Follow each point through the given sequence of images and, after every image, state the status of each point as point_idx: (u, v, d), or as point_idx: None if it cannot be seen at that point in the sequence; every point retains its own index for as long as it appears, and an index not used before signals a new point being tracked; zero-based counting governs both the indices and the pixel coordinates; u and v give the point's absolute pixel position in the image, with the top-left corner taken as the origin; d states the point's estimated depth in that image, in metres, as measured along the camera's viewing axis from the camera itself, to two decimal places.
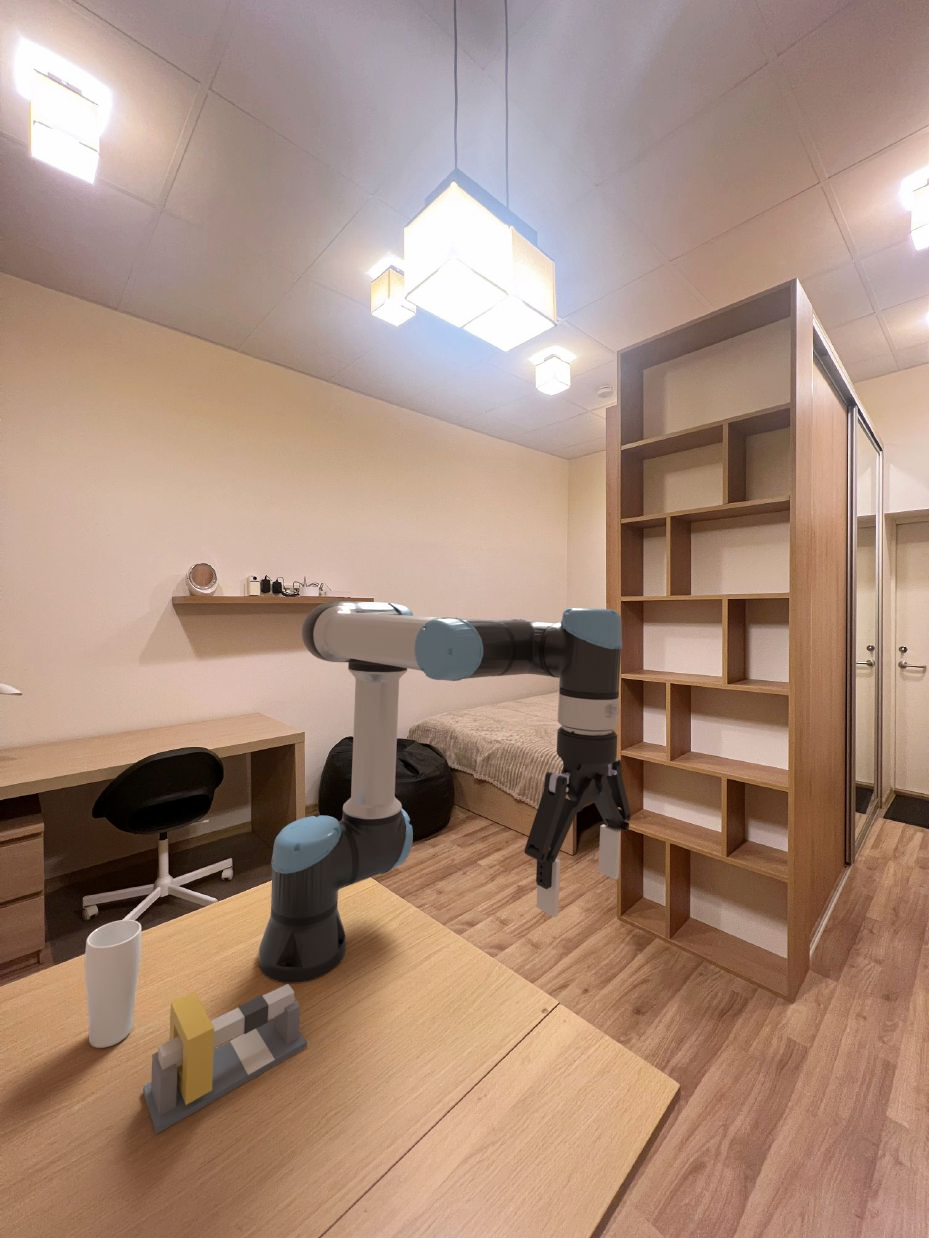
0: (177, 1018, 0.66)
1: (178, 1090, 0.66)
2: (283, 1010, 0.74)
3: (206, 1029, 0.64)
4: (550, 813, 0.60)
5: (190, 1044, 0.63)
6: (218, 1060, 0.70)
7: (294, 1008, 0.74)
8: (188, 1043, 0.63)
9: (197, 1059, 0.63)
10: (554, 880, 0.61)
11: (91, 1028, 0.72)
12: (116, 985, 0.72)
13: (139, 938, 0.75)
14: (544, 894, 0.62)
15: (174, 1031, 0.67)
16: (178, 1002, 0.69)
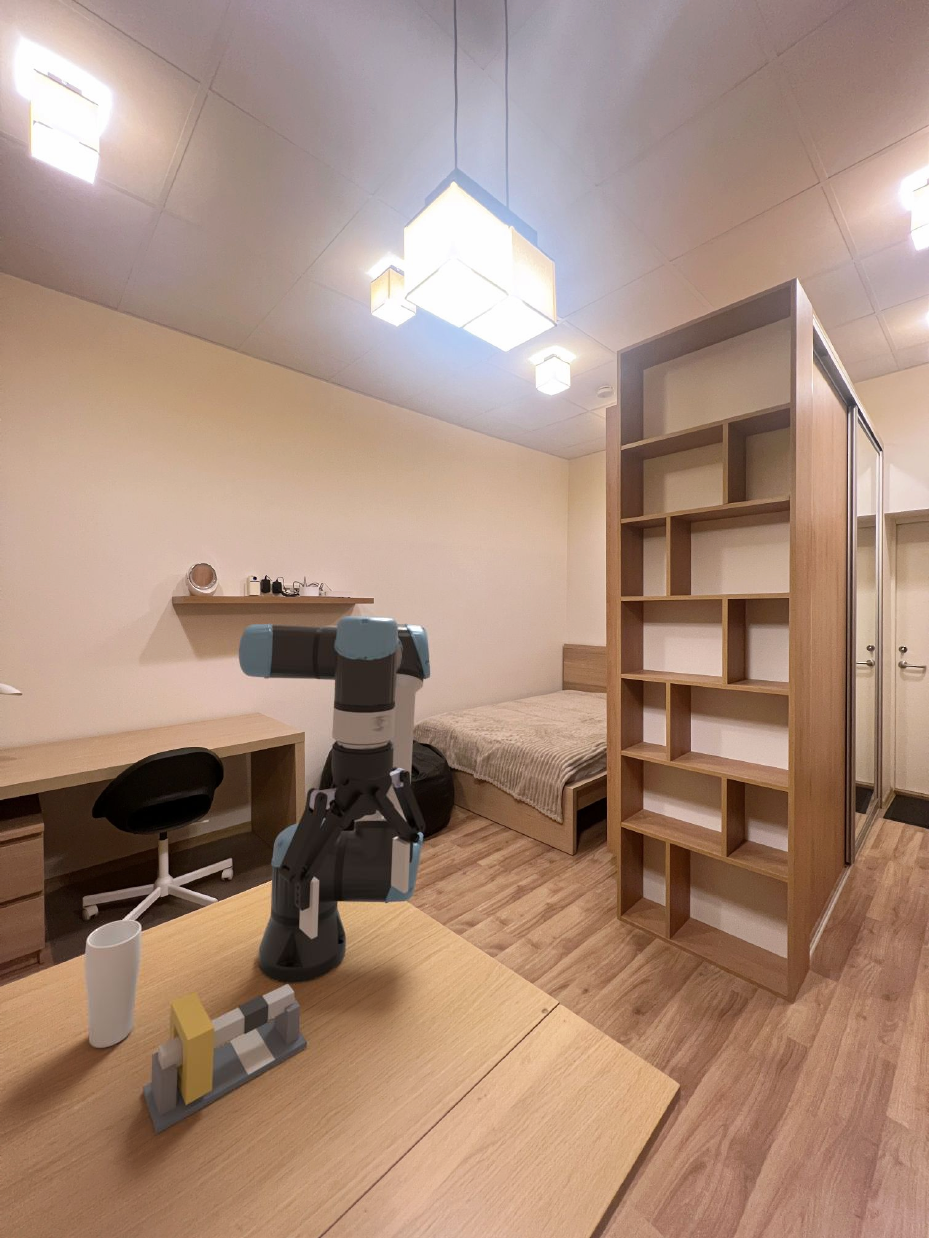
0: (177, 1018, 0.66)
1: (178, 1090, 0.66)
2: (283, 1010, 0.74)
3: (206, 1029, 0.64)
4: (305, 832, 0.58)
5: (190, 1044, 0.63)
6: (218, 1060, 0.70)
7: (294, 1008, 0.74)
8: (188, 1043, 0.63)
9: (197, 1059, 0.63)
10: (311, 901, 0.58)
11: (91, 1028, 0.72)
12: (116, 985, 0.72)
13: (139, 938, 0.75)
14: (304, 915, 0.59)
15: (174, 1031, 0.67)
16: (178, 1002, 0.69)
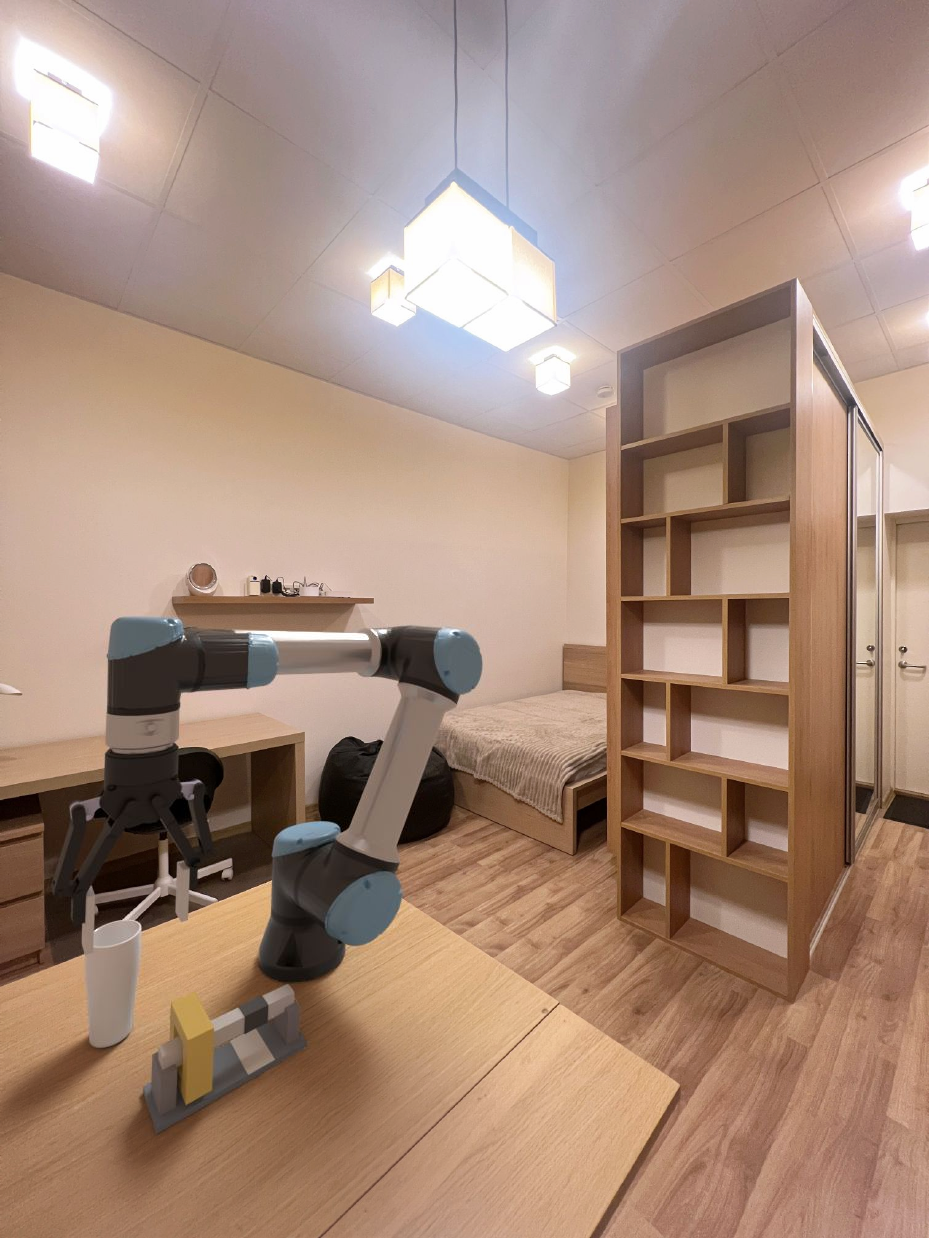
0: (177, 1018, 0.66)
1: (178, 1090, 0.66)
2: (283, 1010, 0.74)
3: (206, 1029, 0.64)
4: (66, 846, 0.56)
5: (190, 1044, 0.63)
6: (218, 1060, 0.70)
7: (294, 1008, 0.74)
8: (188, 1043, 0.63)
9: (197, 1059, 0.63)
10: (86, 916, 0.58)
11: (91, 1028, 0.72)
12: (116, 985, 0.72)
13: (139, 938, 0.75)
14: (83, 930, 0.59)
15: (174, 1031, 0.67)
16: (178, 1002, 0.69)
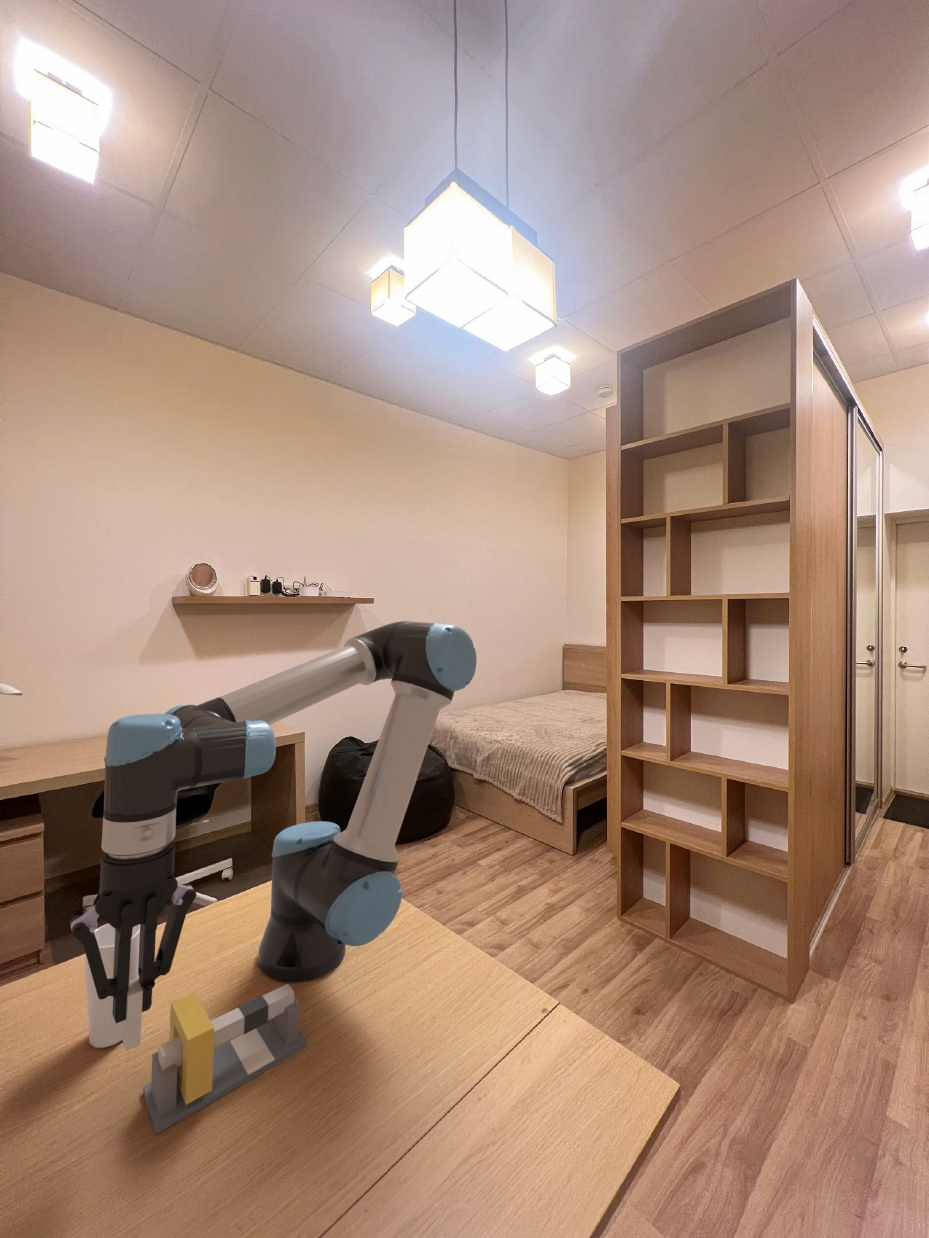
0: (177, 1018, 0.66)
1: (178, 1090, 0.66)
2: (283, 1010, 0.74)
3: (206, 1029, 0.64)
4: (87, 959, 0.58)
5: (190, 1044, 0.63)
6: (218, 1060, 0.70)
7: (294, 1008, 0.74)
8: (188, 1043, 0.63)
9: (197, 1059, 0.63)
10: (127, 1013, 0.61)
11: (91, 1028, 0.72)
12: None
13: None
14: (123, 1025, 0.62)
15: (174, 1031, 0.67)
16: (178, 1002, 0.69)
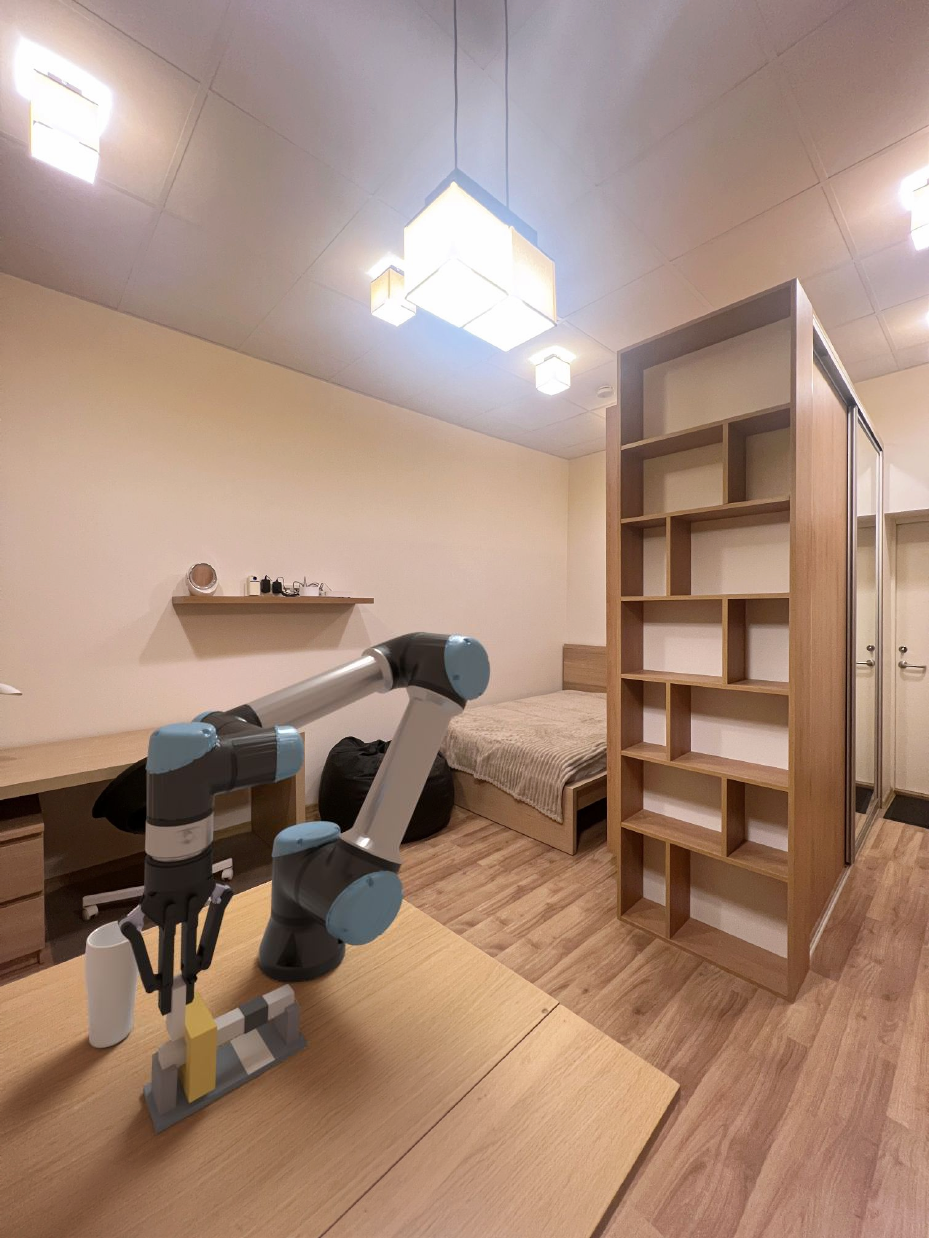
0: None
1: (178, 1090, 0.66)
2: (283, 1010, 0.74)
3: (209, 1028, 0.65)
4: (135, 955, 0.61)
5: (193, 1042, 0.63)
6: (218, 1060, 0.70)
7: (294, 1008, 0.74)
8: (191, 1041, 0.63)
9: (200, 1057, 0.64)
10: (172, 1006, 0.64)
11: (91, 1028, 0.72)
12: (116, 985, 0.72)
13: None
14: (168, 1017, 0.65)
15: None
16: None
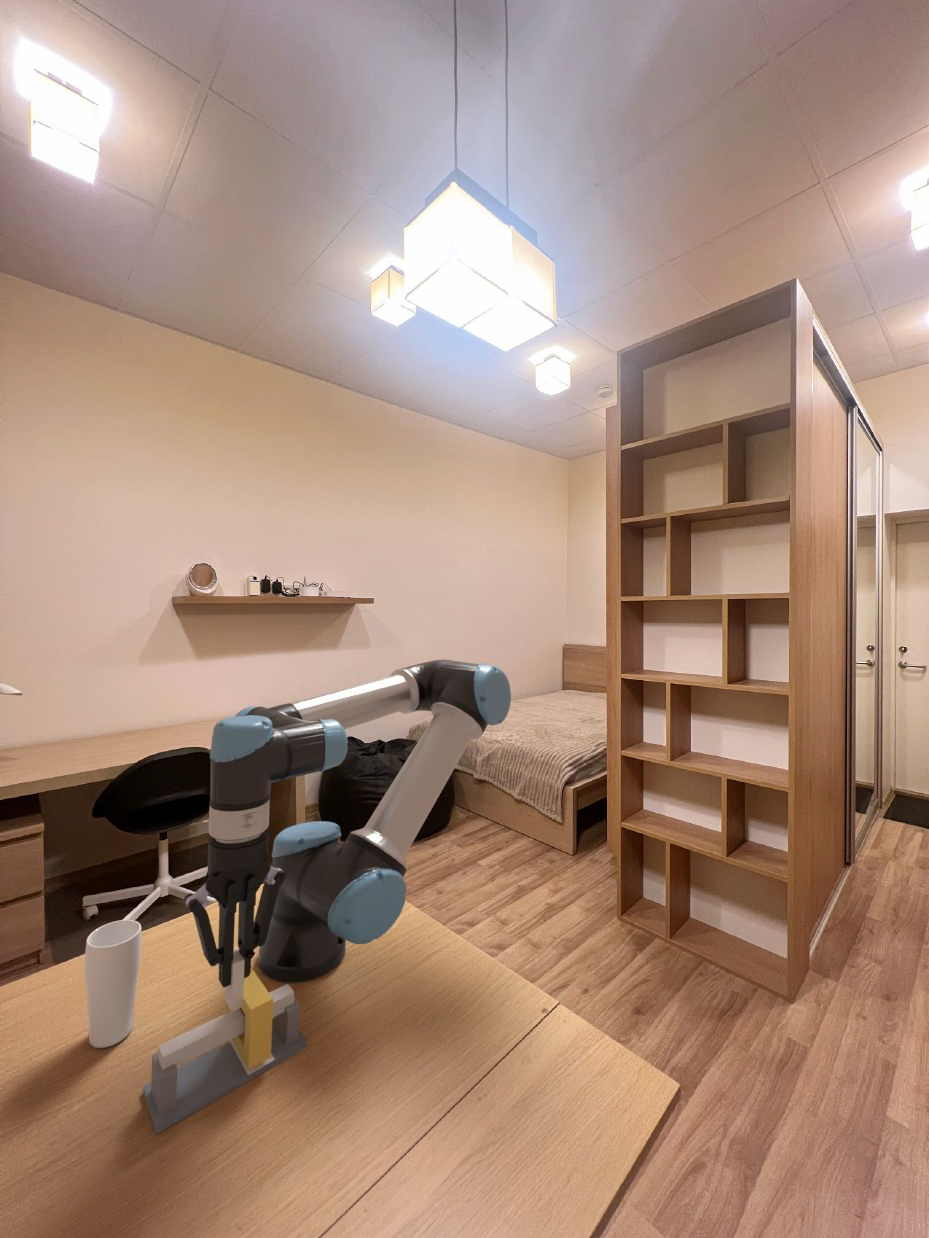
0: None
1: (178, 1090, 0.66)
2: (283, 1010, 0.74)
3: (266, 1000, 0.70)
4: (200, 931, 0.66)
5: (252, 1013, 0.68)
6: (218, 1060, 0.70)
7: (294, 1008, 0.74)
8: (251, 1012, 0.68)
9: (258, 1027, 0.69)
10: (232, 979, 0.69)
11: (91, 1028, 0.72)
12: (116, 985, 0.72)
13: (139, 938, 0.75)
14: (228, 990, 0.70)
15: None
16: None
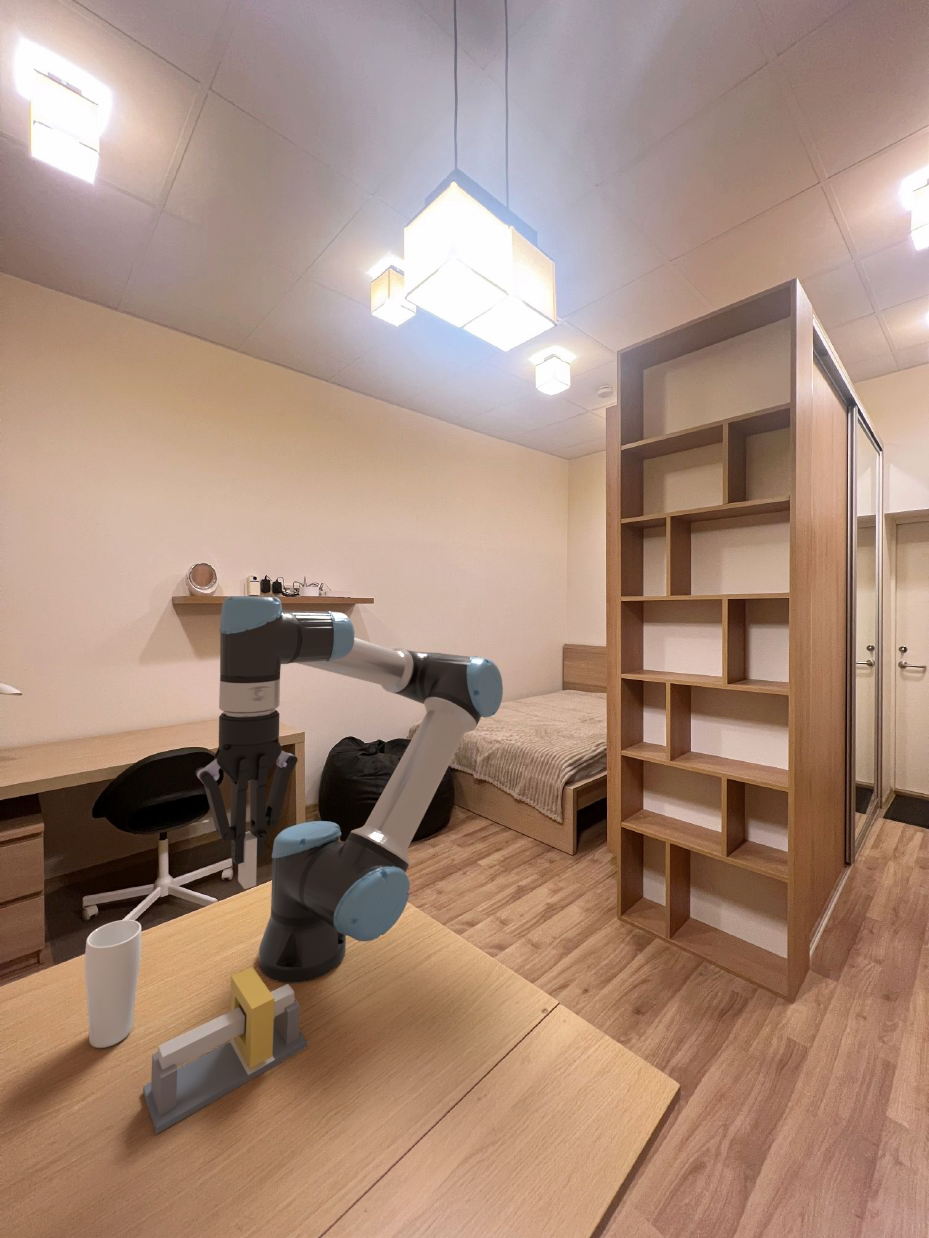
0: (239, 990, 0.71)
1: (178, 1090, 0.66)
2: (283, 1010, 0.74)
3: (267, 999, 0.70)
4: (212, 803, 0.66)
5: (254, 1012, 0.68)
6: (218, 1060, 0.70)
7: (294, 1008, 0.74)
8: (252, 1011, 0.68)
9: (259, 1027, 0.69)
10: (245, 856, 0.69)
11: (91, 1028, 0.72)
12: (116, 985, 0.72)
13: (139, 938, 0.75)
14: (241, 869, 0.70)
15: (235, 1002, 0.73)
16: (238, 975, 0.74)
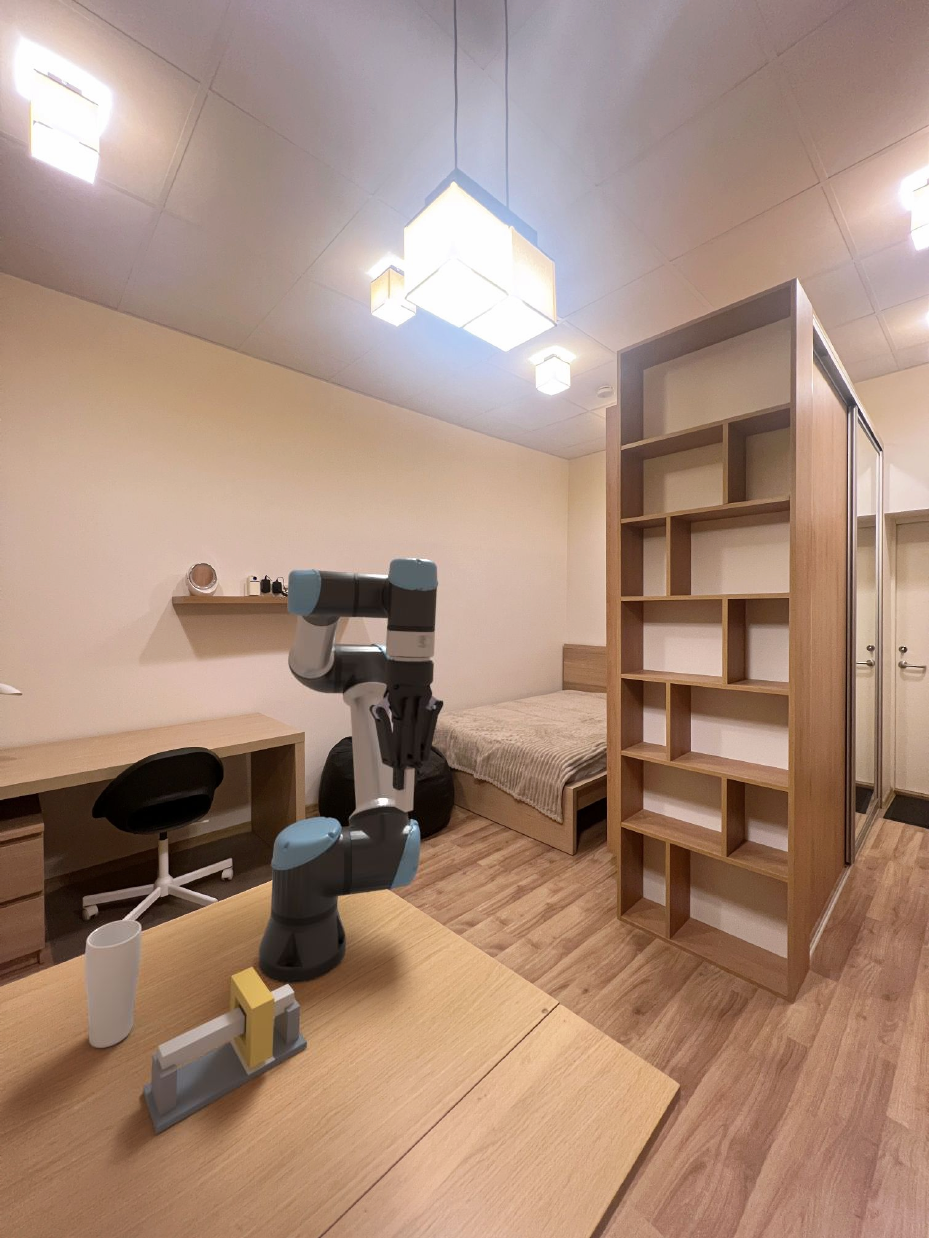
0: (239, 990, 0.71)
1: (178, 1090, 0.66)
2: (283, 1010, 0.74)
3: (267, 999, 0.70)
4: (384, 735, 0.77)
5: (254, 1012, 0.68)
6: (218, 1060, 0.70)
7: (294, 1008, 0.74)
8: (252, 1011, 0.68)
9: (259, 1027, 0.69)
10: (405, 784, 0.79)
11: (91, 1028, 0.72)
12: (116, 985, 0.72)
13: (139, 938, 0.75)
14: (399, 796, 0.80)
15: (235, 1002, 0.73)
16: (238, 975, 0.74)
